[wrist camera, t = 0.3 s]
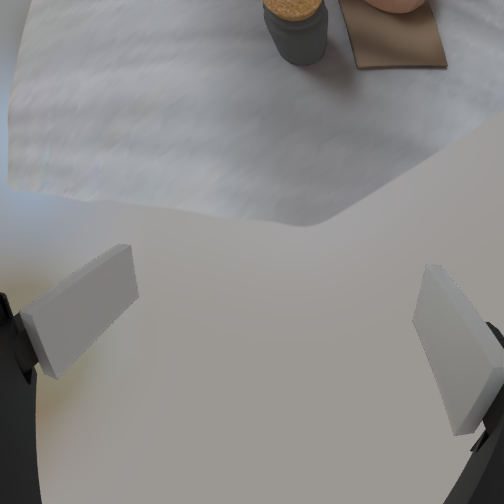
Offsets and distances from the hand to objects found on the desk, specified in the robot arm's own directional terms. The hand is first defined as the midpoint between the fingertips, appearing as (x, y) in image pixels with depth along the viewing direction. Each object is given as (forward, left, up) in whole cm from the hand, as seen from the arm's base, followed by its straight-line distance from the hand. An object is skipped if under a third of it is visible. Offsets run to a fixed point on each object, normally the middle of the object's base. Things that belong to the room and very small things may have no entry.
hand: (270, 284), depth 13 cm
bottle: (-18, +3, -27) cm, 32 cm away
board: (-23, +15, -27) cm, 38 cm away
